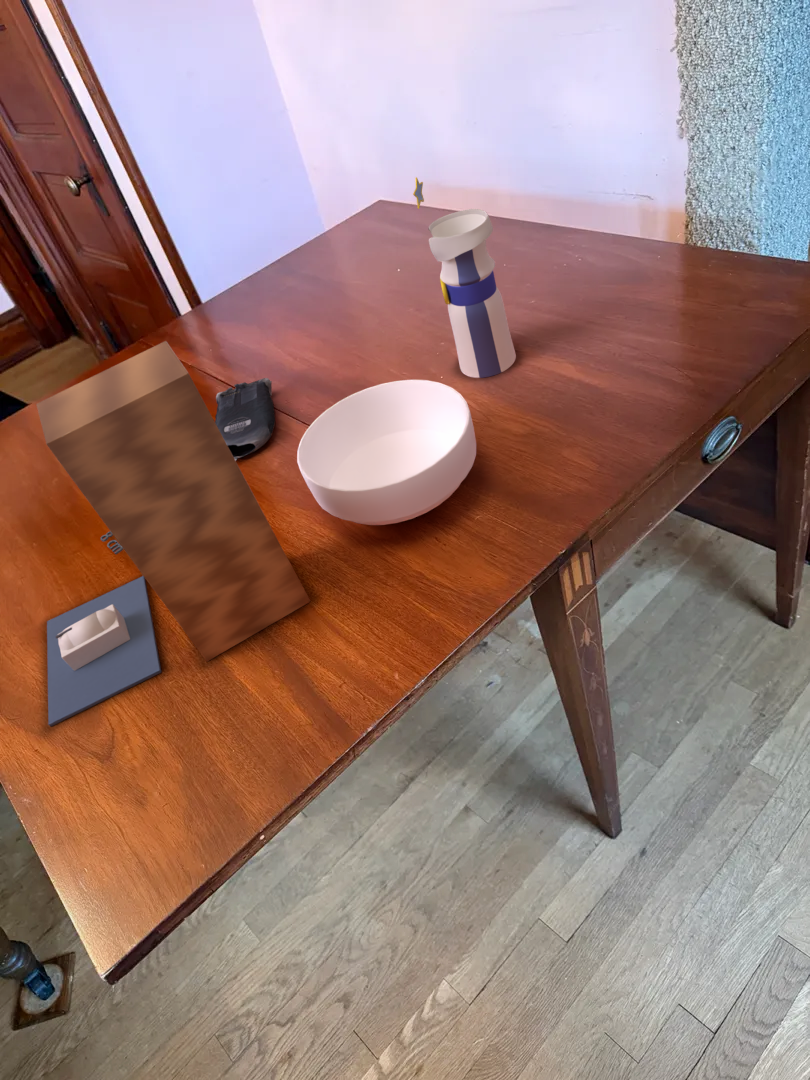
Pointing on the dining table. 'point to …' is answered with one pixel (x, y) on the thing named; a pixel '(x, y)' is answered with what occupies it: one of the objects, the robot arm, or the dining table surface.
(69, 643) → the white boxy piece
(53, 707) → the mouse pad
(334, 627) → the dining table surface
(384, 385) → the bowl
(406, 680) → the dining table surface
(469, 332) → the water bottle
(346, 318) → the dining table surface
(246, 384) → the electronic device
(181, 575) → the block
